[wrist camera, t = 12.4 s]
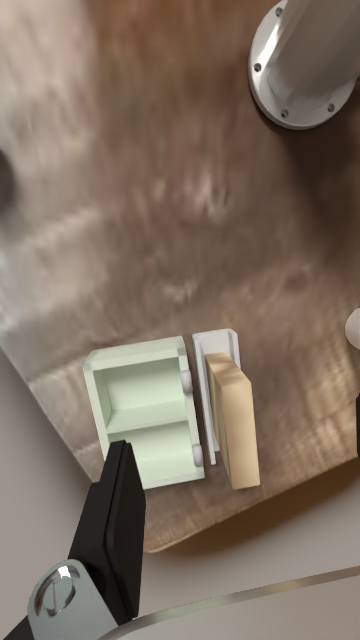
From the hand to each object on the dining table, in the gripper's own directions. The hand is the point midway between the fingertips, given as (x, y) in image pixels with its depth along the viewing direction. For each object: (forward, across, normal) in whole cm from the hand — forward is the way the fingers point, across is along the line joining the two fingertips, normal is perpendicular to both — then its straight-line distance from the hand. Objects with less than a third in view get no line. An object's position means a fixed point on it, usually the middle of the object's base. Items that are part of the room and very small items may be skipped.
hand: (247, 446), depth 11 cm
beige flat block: (+24, -2, +12) cm, 27 cm away
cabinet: (+25, +4, +12) cm, 28 cm away
